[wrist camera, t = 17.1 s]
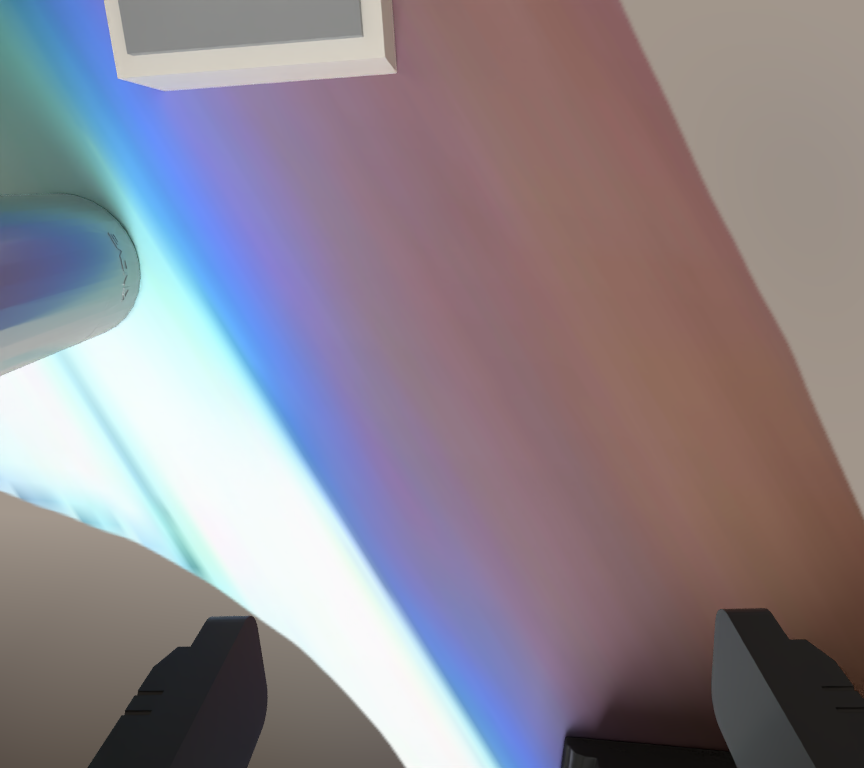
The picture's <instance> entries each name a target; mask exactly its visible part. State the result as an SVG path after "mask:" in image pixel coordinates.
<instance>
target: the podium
mask: <svg viewBox="0 0 864 768" xmlns="http://www.w3.org/2000/svg"><path fill="white" fill-rule="evenodd" d="M104 3H105V9H106V15H107V20H108V26H109V31H110V37H111V43H112V48H113V54H114V59H115V65H116V71H117V76H118V79H122V80H126V81H129V82H133V83H136V84H140V85H144V86H147V87H151V88H155V89H158V90H162V91H174V90H187V89H200V88H213V87H226V86H239V85H252V84H265V83H278V82H291V81H304V80H317V79H330V78H343V77H356V76H369V75H382V74H395V73H397V65H396V51H395V36H394V22H393V8H392V0H104Z"/></svg>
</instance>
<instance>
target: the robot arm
mask: <svg viewBox="0 0 864 768" xmlns="http://www.w3.org/2000/svg"><path fill="white" fill-rule="evenodd" d="M139 284H140V269H139V261H138V258H137V254H136V251H135V248H134V246H133V244H132V242H131V240H130V238H129V236H128V234H127V232H126V231H125V230H124V229H123V227H122V226H121V225H120V223H119V222H118V221H117V220H116V219H115V218H114V217H113V216H112V215H111V214H110V213H109V212H107V211H106V210H105V209H104V208H102V207H100V206H99V205H97V204H95V203H94V202H92V201H90V200H87V199H85V198H82V197H79V196H76V195H70V194H63V193H56V194H29V195H0V376H2V375H4V374H6V373H9V372H11V371H14V370H16V369H18V368H21V367H23V366H25V365H28V364H30V363H33V362H35V361H37V360H40V359H42V358H45V357H47V356H49V355H52V354H54V353H57V352H59V351H61V350H64V349H66V348H69V347H72V346H74V345H76V344H79V343H81V342H83V341H86V340H88V339H91V338H93V337H95V336H98V335H100V334H102V333H105V332H107V331H108V330H110V329H112V328H114V327H116V326H117V325H118V324H119V323H120V322H121V321H123V320H124V319H125V318H126V317H127V315H128V314H129V312H130V311H131V309H132V308H133V306H134V303H135V301H136V298H137V295H138V292H139ZM711 692H712V701H713V707H714V712H715V716H716V719H717V722H718V725H719V728H720V730H721V732H722V734H723V737H724V739H725V741H726V743H727V746H728V748H729V750H730V752H731V755H732V757H733V759H734V761H735V764H736V766H737V768H864V699H863V698H862V697H861V695H860V694H859V693H858V691H854V686H853V685H852V683H851V682H850V681H849V679H848V678H847V677H846V675H845V674H844V673H843V671H842V670H841V669H840V667H839V666H838V665H837V663H836V662H835V661H834V660H833V659H832V658H830V657H829V656H827V655H826V654H825V653H823V652H822V651H821V650H819V649H818V648H817V647H815V646H814V645H812V644H811V643H810V642H808V641H807V640H789V638H788V637H787V635H786V634H785V633H784V631H783V630H782V628H781V627H780V625H779V624H778V622H777V621H776V619H775V618H774V616H773V615H772V614H771V612H770V611H769V610H768V609H766V608H759V609H720V610H719V611H718V612H717V615H716V621H715V635H714V651H713V666H712V681H711ZM266 710H267V684H266V678H265V671H264V665H263V659H262V653H261V646H260V640H259V633H258V627H257V623H256V620H255V619H254V617H253V616H224V617H210V618H208V619H207V621H206V622H205V624H204V625H203V627H202V629H201V630H200V632H199V634H198V635H197V637H196V639H195V640H194V642H193V643H192V645H191V647H177V648H176V649H175V650H174V651H172V652H171V653H170V654H169V655H168V656H167V657H165V658H164V659H163V660H161V661H160V662H159V663H158V664H157V665H155V666H154V667H153V669H152V670H151V671H150V673H149V675H148V676H147V678H146V679H145V681H144V682H143V684H142V685H141V687H140V688H139V690H138V695H137V696H134V697H133V699H132V701H131V702H130V704H129V705H128V707H127V708H126V710H125V715H122V716H121V717H120V719H119V720H118V722H117V723H116V725H115V726H114V728H113V730H112V731H111V733H110V734H109V736H108V737H107V739H106V740H105V742H104V743H103V745H102V746H101V748H100V749H99V751H98V753H97V754H96V756H95V757H94V759H93V760H92V762H91V763H90V765H89V766H88V768H247V767H248V764H249V761H250V759H251V756H252V753H253V751H254V748H255V746H256V743H257V741H258V738H259V735H260V733H261V730H262V728H263V724H264V721H265V716H266Z"/></svg>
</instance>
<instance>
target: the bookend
mask: <svg viewBox="0 0 864 768" xmlns="http://www.w3.org/2000/svg"><path fill="white" fill-rule="evenodd" d="M561 768H737V766H736V764H735V761H734V759H733V757H732V755H731V752H725V751H715V750H704V749H696V748H684V747H671V746H662V745H652V744H641V743H628V742H619V741H609V740H596V739H587V738H573V737H566V739H565V745H564V752H563V760H562V766H561Z"/></svg>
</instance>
